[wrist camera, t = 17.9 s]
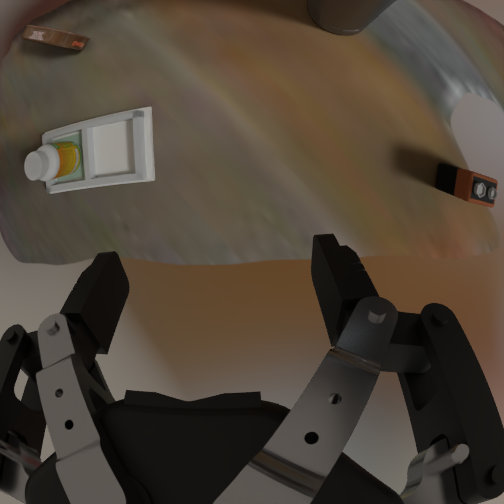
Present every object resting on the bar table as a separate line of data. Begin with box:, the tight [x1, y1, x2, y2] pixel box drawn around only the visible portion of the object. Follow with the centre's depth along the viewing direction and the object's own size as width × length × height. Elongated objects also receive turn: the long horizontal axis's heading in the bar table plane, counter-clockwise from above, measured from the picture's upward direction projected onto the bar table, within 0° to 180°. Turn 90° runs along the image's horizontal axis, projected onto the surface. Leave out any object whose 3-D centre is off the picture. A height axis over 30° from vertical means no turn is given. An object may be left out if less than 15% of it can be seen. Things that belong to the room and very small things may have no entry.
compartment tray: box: [42, 107, 155, 194], centre depth 35 cm, size 11×21×2 cm, turn 91°
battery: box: [435, 163, 498, 207], centre depth 32 cm, size 4×7×10 cm, turn 87°
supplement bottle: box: [24, 141, 83, 181], centre depth 32 cm, size 5×5×10 cm
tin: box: [21, 25, 90, 51], centre depth 24 cm, size 15×3×8 cm, turn 59°
